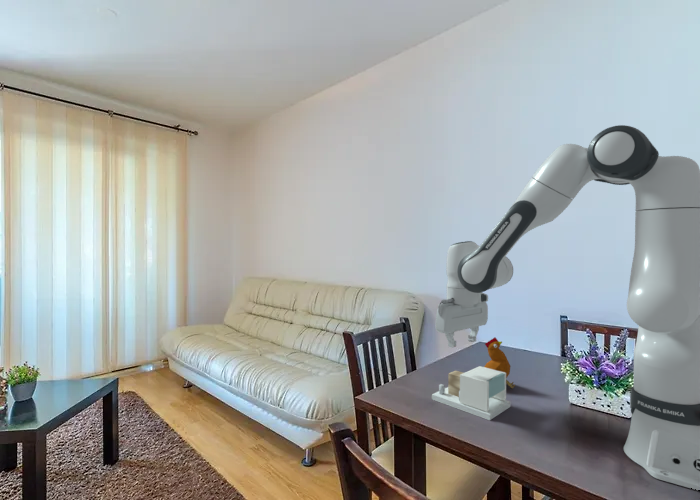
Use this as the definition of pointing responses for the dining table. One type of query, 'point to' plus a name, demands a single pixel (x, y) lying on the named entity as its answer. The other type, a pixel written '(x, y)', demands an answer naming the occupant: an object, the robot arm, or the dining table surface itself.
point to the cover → (482, 387)
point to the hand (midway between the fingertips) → (462, 344)
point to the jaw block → (454, 383)
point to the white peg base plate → (494, 406)
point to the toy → (498, 359)
